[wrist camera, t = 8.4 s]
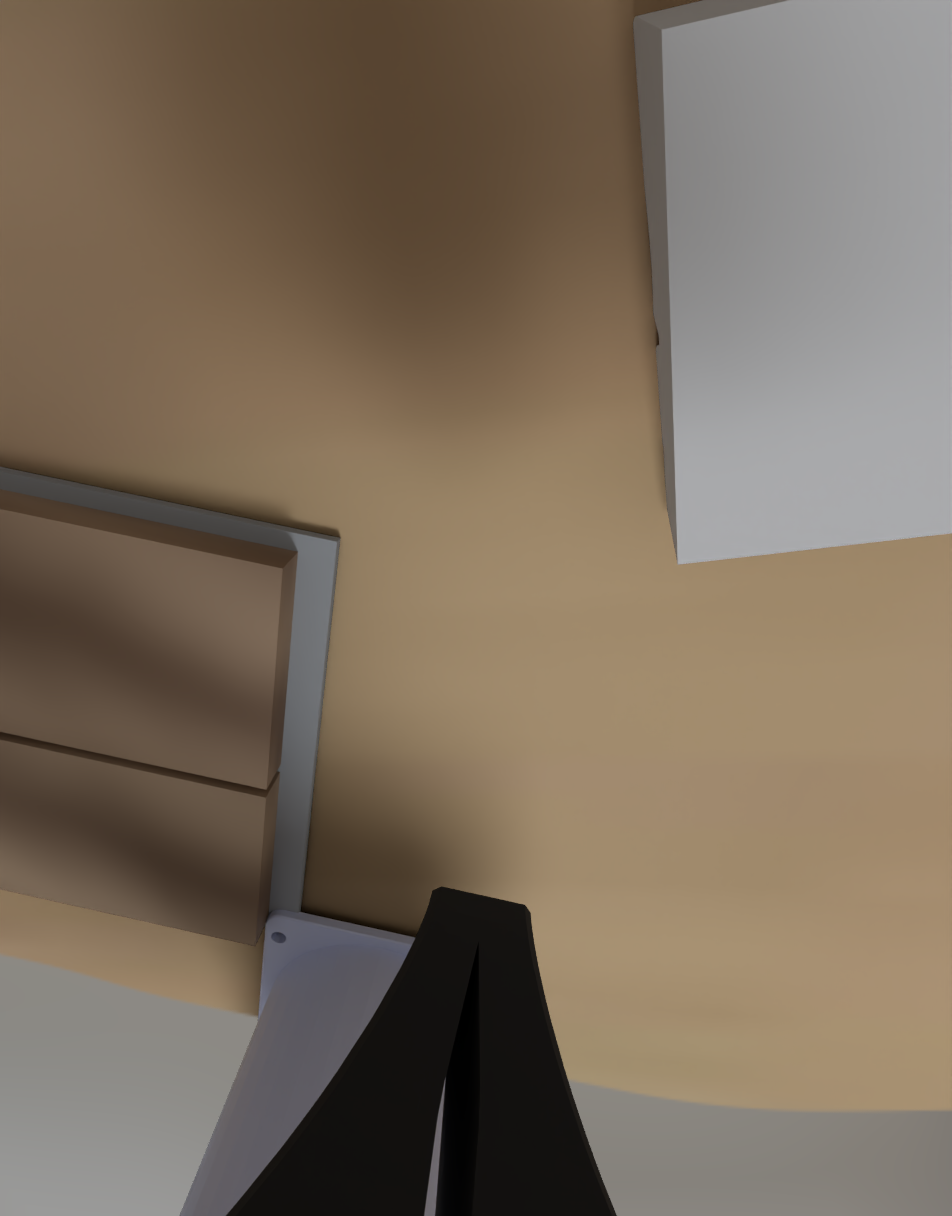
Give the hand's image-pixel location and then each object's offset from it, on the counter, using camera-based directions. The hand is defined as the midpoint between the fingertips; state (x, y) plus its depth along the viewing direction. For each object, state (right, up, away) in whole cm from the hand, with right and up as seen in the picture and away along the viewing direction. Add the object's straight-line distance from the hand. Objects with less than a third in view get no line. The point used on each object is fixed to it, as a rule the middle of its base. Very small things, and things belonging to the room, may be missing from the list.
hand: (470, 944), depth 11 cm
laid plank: (-13, -1, +13) cm, 19 cm away
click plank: (-12, +5, +11) cm, 17 cm away
